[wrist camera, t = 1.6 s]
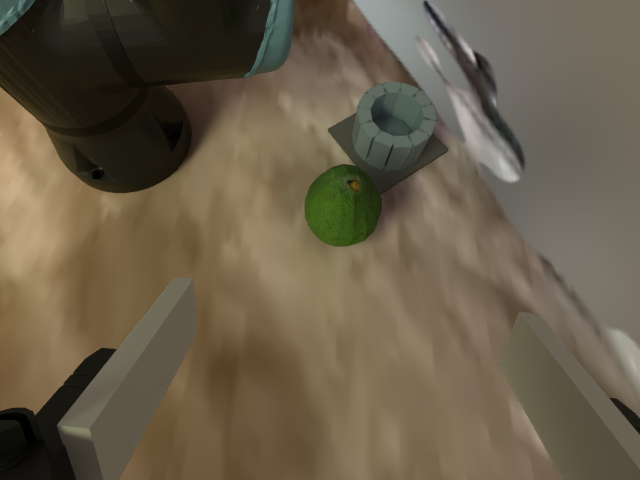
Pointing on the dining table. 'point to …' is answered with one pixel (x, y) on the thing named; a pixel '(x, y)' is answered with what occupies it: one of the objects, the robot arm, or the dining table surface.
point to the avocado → (343, 206)
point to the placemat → (380, 177)
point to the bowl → (393, 125)
